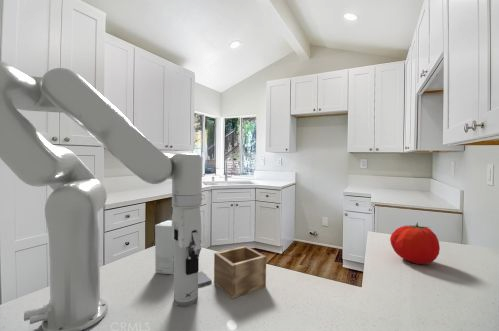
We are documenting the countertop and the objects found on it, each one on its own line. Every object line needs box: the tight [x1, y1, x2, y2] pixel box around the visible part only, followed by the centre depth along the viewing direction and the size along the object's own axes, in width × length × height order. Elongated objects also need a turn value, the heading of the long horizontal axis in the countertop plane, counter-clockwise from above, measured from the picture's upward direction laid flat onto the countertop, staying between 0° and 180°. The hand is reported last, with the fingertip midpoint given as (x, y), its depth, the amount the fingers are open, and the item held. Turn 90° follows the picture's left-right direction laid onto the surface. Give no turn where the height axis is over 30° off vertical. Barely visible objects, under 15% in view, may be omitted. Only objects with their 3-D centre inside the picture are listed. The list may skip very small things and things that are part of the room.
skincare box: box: [154, 219, 174, 275], centre depth 85 cm, size 8×7×16 cm
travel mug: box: [173, 229, 199, 307], centre depth 67 cm, size 6×7×20 cm
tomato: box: [389, 222, 441, 265], centre depth 94 cm, size 16×14×14 cm
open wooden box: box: [213, 245, 267, 299], centre depth 75 cm, size 12×10×9 cm
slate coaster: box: [198, 271, 212, 288], centre depth 77 cm, size 7×7×1 cm
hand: (186, 267), depth 67 cm, fingers open, 6 cm apart
